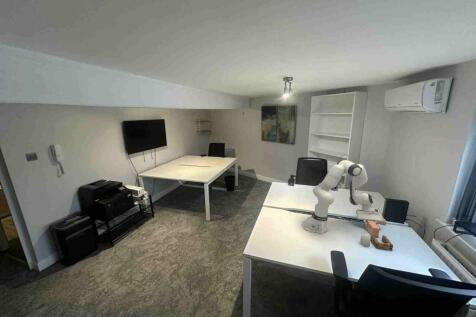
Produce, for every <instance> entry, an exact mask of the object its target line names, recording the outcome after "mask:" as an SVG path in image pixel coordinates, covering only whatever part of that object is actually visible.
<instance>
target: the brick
mask: <svg viewBox="0 0 476 317" xmlns="http://www.w3.org/2000/svg"><path fill="white" fill-rule="evenodd" d="M379 213H380V214H381V216H382V219H383V220H382V221H381V222H376V225H379V224H380V225H381V226H386V225H387V220H386V219H385V218H384V216H383V215H382V213H381V212H379Z"/></svg>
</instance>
